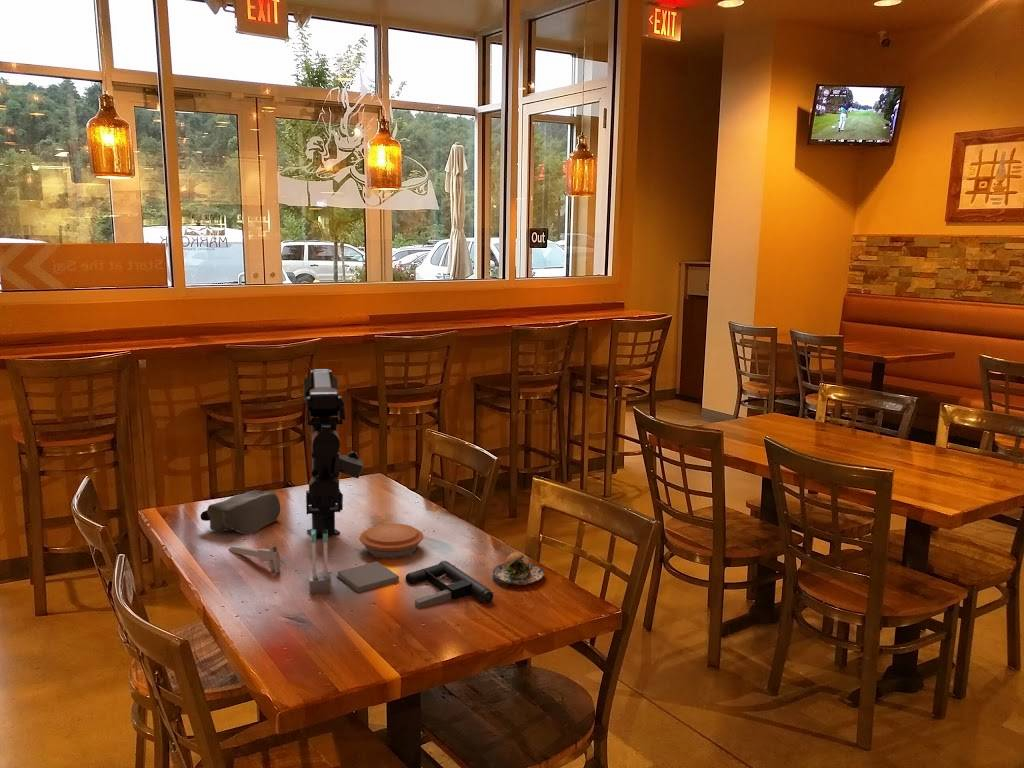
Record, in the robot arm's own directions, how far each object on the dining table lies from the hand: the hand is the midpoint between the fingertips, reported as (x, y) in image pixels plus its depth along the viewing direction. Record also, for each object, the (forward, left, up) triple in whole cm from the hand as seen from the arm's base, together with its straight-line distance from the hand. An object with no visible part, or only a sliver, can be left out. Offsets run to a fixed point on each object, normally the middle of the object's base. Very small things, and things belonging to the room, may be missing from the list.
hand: (325, 511), depth 187 cm
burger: (+31, +32, -14) cm, 47 cm away
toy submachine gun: (+27, +14, -14) cm, 34 cm away
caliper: (-12, -13, -14) cm, 22 cm away
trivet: (+12, +4, -13) cm, 18 cm away
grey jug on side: (-36, -7, -13) cm, 39 cm away
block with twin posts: (+11, -7, -13) cm, 18 cm away
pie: (0, +17, -13) cm, 22 cm away
